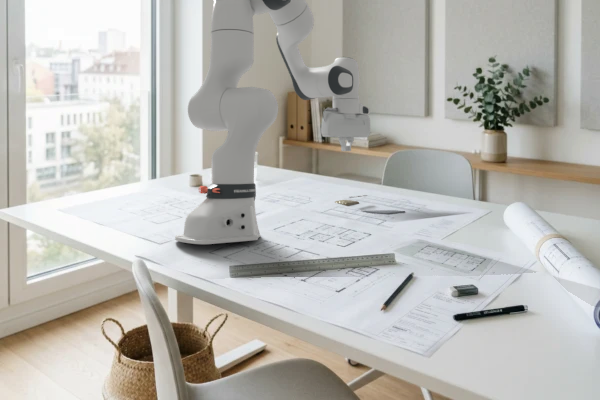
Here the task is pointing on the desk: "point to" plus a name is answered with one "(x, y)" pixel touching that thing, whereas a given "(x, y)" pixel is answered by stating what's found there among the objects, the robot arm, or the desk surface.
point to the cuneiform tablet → (348, 201)
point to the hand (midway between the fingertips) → (346, 151)
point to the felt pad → (384, 211)
